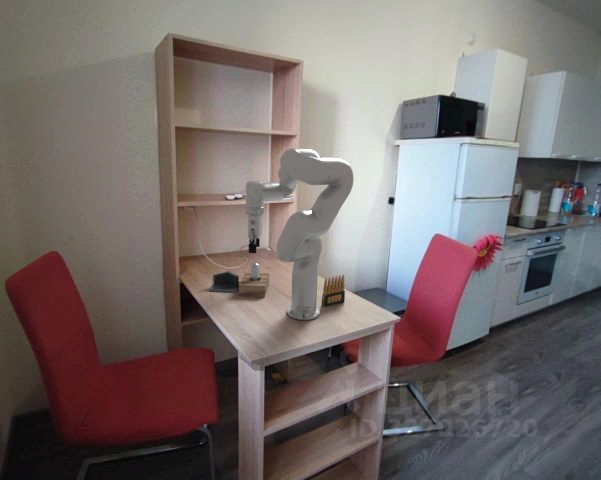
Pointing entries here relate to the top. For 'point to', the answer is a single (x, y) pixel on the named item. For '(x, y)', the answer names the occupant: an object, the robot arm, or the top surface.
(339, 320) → the top surface
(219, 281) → the v block
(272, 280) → the top surface
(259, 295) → the wooden block with hole
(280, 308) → the top surface
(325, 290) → the ammunition clip
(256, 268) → the axle
